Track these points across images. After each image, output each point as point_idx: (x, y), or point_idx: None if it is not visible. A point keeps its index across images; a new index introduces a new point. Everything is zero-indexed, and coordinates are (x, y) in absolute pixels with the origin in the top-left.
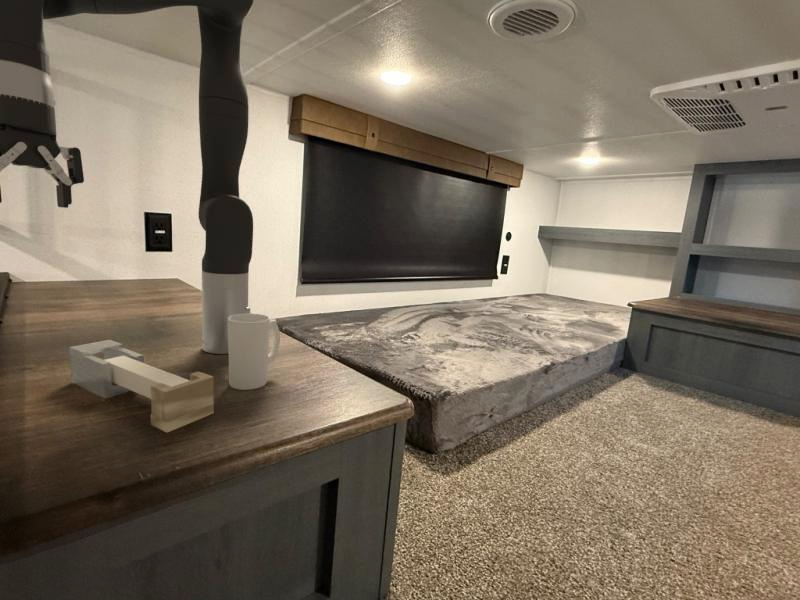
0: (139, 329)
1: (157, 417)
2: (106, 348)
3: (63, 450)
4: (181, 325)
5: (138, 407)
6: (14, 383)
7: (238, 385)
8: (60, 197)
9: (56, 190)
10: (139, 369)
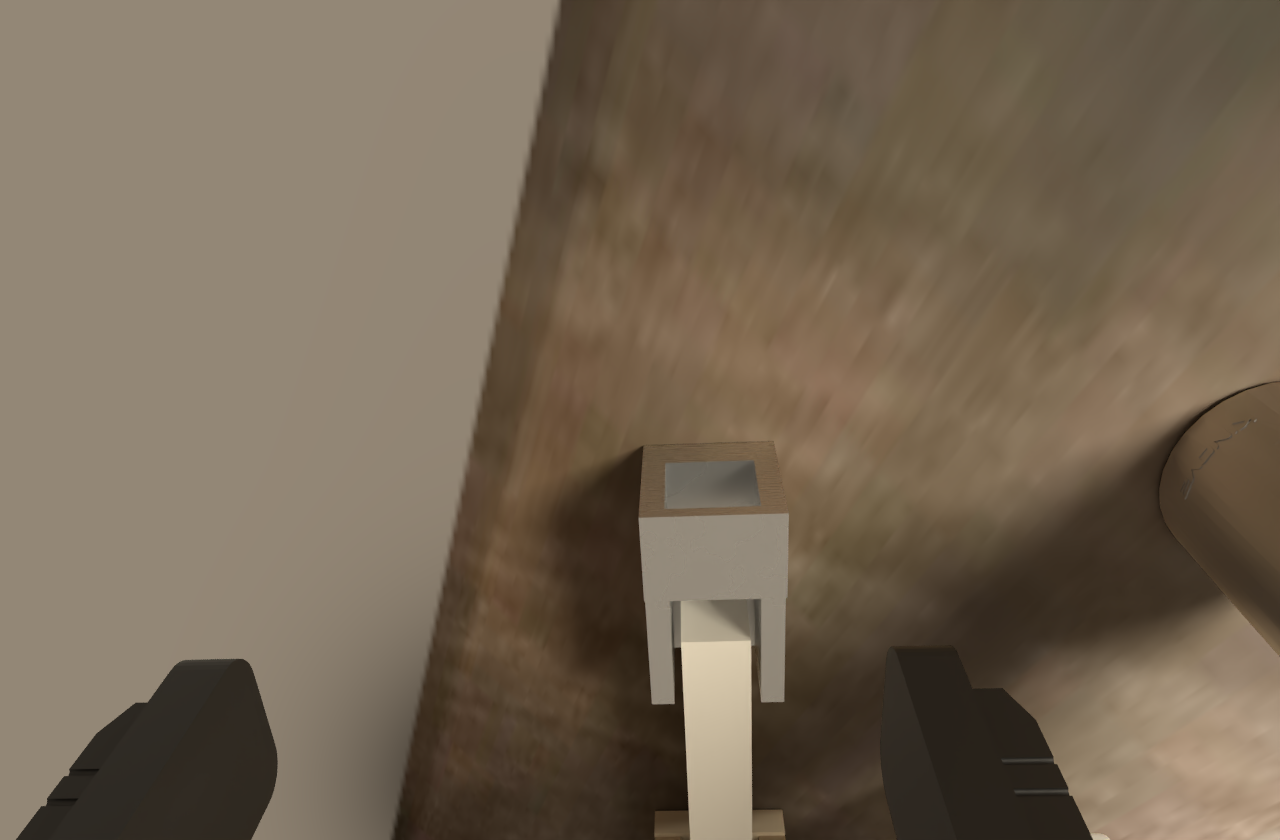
0: None
1: None
2: (726, 596)
3: (490, 786)
4: None
5: None
6: (516, 324)
7: None
8: (915, 816)
9: (950, 827)
10: (712, 774)
